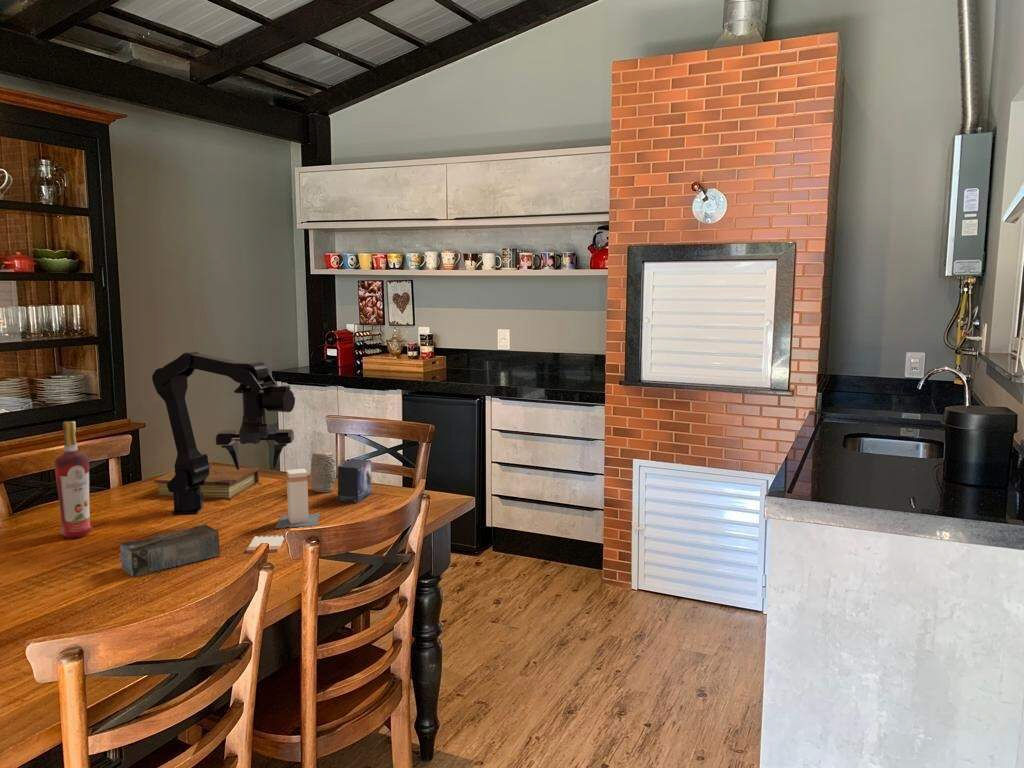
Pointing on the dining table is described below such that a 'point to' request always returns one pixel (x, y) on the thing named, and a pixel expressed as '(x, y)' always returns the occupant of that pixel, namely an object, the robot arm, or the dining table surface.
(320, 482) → the carving
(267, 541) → the cream block pink end
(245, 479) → the diary
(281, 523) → the mat
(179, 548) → the grey piece
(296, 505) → the beige tall block
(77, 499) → the liquor
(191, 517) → the dining table surface
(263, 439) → the robot arm
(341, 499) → the small box
